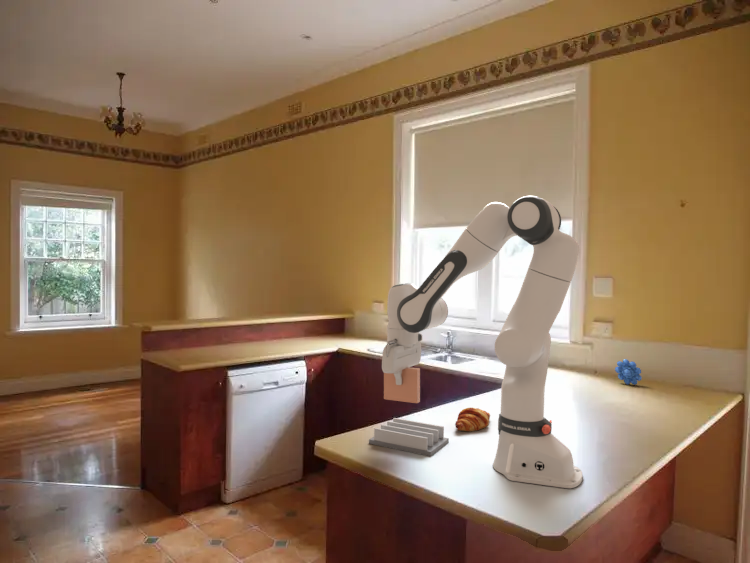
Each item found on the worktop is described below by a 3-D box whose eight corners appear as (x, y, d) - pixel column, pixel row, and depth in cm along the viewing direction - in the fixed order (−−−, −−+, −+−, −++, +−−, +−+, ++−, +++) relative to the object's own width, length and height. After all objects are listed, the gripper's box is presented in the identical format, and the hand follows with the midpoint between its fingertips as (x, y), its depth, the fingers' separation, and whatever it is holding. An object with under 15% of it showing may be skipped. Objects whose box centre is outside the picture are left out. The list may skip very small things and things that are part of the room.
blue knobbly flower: (612, 384, 249) (613, 359, 249) (615, 381, 254) (616, 357, 254) (639, 387, 242) (640, 362, 242) (642, 385, 248) (643, 360, 247)
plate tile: (419, 401, 156) (419, 368, 156) (417, 403, 154) (417, 369, 154) (386, 397, 161) (386, 365, 161) (383, 399, 159) (383, 366, 159)
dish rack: (448, 442, 160) (448, 426, 160) (430, 456, 148) (431, 439, 148) (390, 431, 170) (390, 416, 169) (368, 443, 157) (369, 427, 157)
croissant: (480, 428, 187) (471, 406, 189) (504, 419, 181) (494, 397, 184) (450, 441, 170) (441, 417, 173) (475, 432, 165) (465, 408, 167)
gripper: (396, 342, 146) (396, 391, 147) (424, 334, 165) (424, 378, 165) (376, 340, 149) (376, 389, 150) (406, 333, 168) (406, 376, 168)
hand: (401, 383), depth 157 cm, fingers closed on plate tile, 2 cm apart
